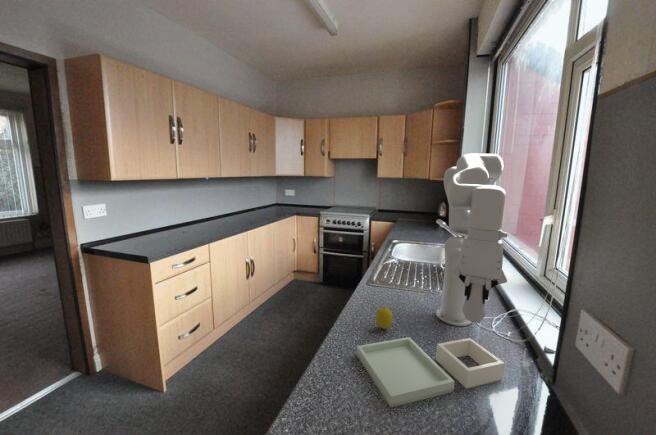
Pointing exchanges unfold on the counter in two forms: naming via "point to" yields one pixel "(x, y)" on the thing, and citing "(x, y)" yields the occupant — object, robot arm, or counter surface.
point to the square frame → (466, 376)
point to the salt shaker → (475, 301)
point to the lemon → (384, 317)
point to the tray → (403, 371)
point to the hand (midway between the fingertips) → (475, 299)
